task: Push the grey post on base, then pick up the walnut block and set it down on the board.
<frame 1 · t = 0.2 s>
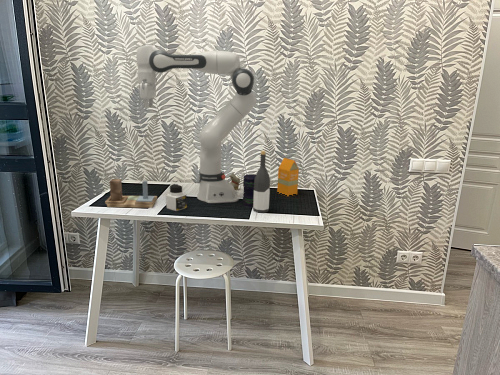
hand: (148, 107, 205), 47 cm above the table, tool pointing down, fingers open, 8 cm apart
storage jar: (252, 204, 212), on the table
chocolate bunny: (232, 189, 236), on the table
grey post on base: (145, 190, 205), point 8 cm above the table, slide at 0.0 cm
medicine bottle: (176, 208, 203), on the table
board: (133, 202, 209), on the table
orange juice: (287, 193, 232), on the table
wine bottle: (261, 210, 204), on the table
walnut block: (116, 201, 206), point 1 cm above the table, touching board
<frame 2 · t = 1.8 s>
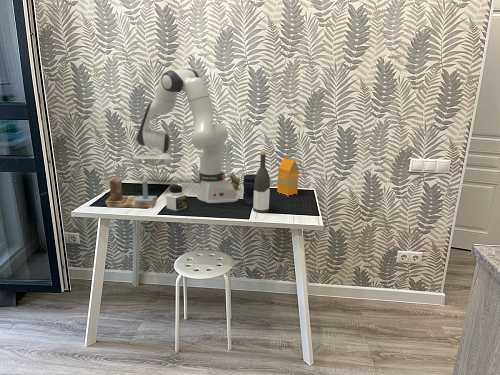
hand: (149, 163, 215), 18 cm above the table, tool horizontal, fingers open, 5 cm apart
nothing on the table moved.
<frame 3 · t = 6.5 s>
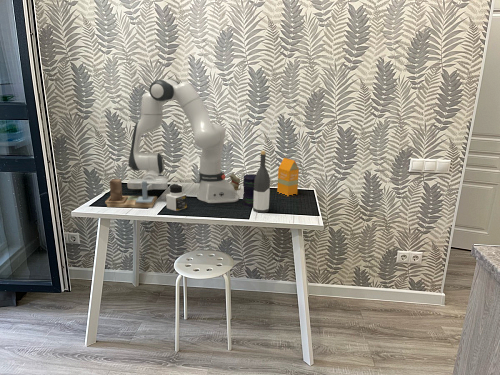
hand: (145, 188, 204), 8 cm above the table, tool horizontal, fingers closed, pressing on grey post on base
grey post on base: (144, 191, 203), point 8 cm above the table, slide at 1.2 cm, touching gripper
everything else where it was.
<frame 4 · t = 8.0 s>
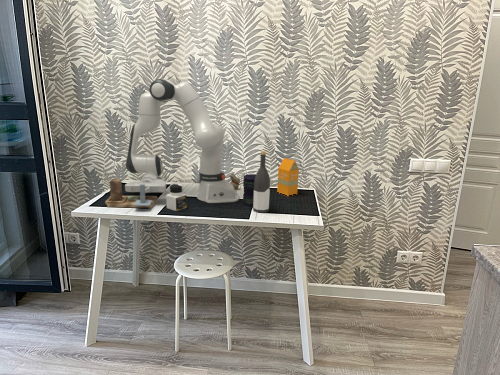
hand: (143, 191, 199), 8 cm above the table, tool horizontal, fingers closed, pressing on grey post on base
grey post on base: (142, 194, 199), point 8 cm above the table, slide at 6.3 cm, touching gripper
everything else where it was.
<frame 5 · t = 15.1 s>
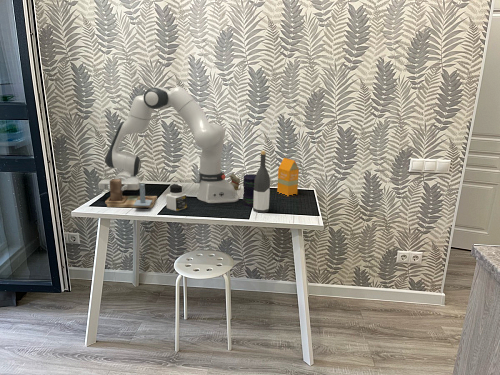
hand: (115, 189, 203), 8 cm above the table, tool horizontal, fingers closed on walnut block, 4 cm apart
grey post on base: (142, 194, 198), point 8 cm above the table, slide at 6.4 cm
walnut block: (116, 201, 206), point 2 cm above the table, touching board, gripper
everything else where it was.
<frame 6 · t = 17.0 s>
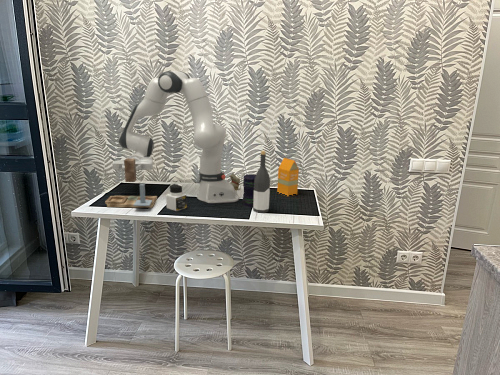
hand: (129, 168, 205), 18 cm above the table, tool horizontal, fingers closed on walnut block, 4 cm apart
walnut block: (131, 180, 207), point 11 cm above the table, touching gripper
everything else where it was.
when the fingers open (9 cm above the table, at t = 19.2 s): walnut block drops 1 cm, resting on board.
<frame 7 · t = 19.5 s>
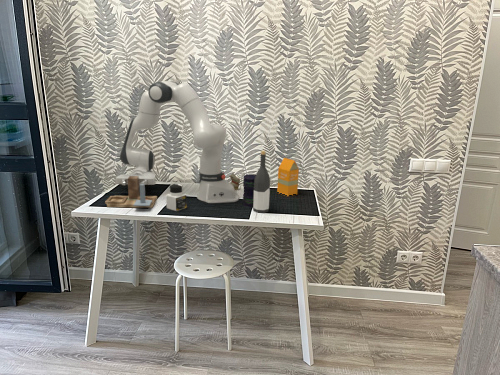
hand: (133, 183, 208), 9 cm above the table, tool horizontal, fingers open, 8 cm apart
walnut block: (134, 197, 211), point 2 cm above the table, touching board
everything else where it was.
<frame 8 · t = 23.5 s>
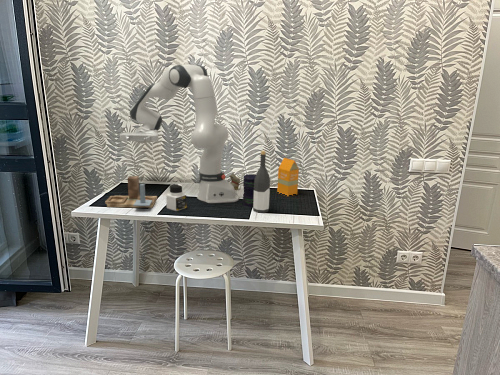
hand: (136, 139, 215), 30 cm above the table, tool horizontal, fingers open, 8 cm apart
nothing on the table moved.
at the end: grey post on base slide at 6.4 cm; walnut block inside the target area on the board (0.0 cm from its centre), point 1.7 cm above the board's base; walnut block tilted 0° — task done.
